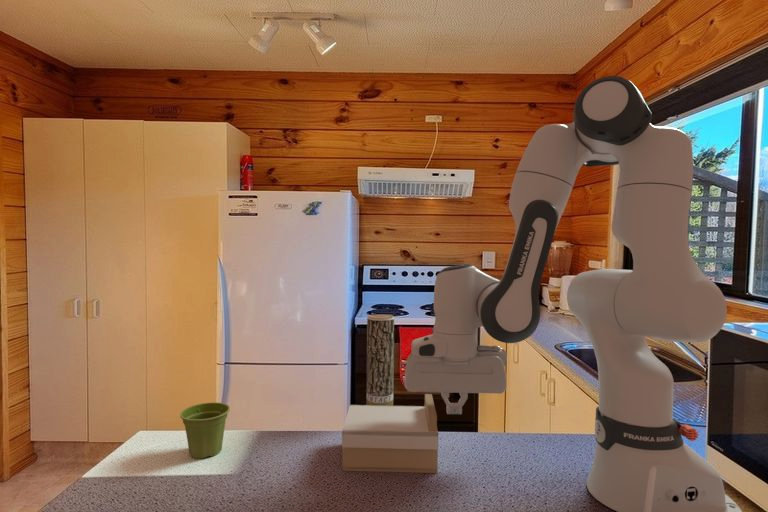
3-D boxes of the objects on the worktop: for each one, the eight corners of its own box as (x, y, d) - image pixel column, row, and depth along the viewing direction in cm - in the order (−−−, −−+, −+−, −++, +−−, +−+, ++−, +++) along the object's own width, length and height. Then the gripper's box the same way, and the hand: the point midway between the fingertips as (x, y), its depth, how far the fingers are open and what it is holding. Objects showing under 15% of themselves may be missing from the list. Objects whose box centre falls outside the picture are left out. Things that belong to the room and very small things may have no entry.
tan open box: (432, 444, 94) (432, 412, 94) (437, 473, 82) (437, 436, 82) (349, 442, 94) (349, 410, 94) (342, 470, 82) (342, 434, 82)
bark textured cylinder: (367, 409, 114) (368, 314, 113) (393, 409, 113) (394, 314, 113) (365, 419, 107) (366, 318, 107) (392, 420, 107) (393, 318, 106)
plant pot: (212, 466, 84) (212, 421, 84) (169, 460, 86) (169, 417, 85) (238, 444, 93) (238, 404, 93) (199, 440, 95) (199, 400, 95)
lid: (432, 420, 95) (432, 392, 95) (438, 449, 81) (438, 417, 81) (349, 418, 95) (350, 391, 95) (342, 447, 81) (342, 415, 81)
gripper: (503, 342, 90) (502, 408, 90) (404, 340, 91) (404, 406, 91) (511, 349, 84) (510, 420, 84) (405, 347, 85) (404, 418, 85)
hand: (454, 413), depth 88 cm, fingers closed
